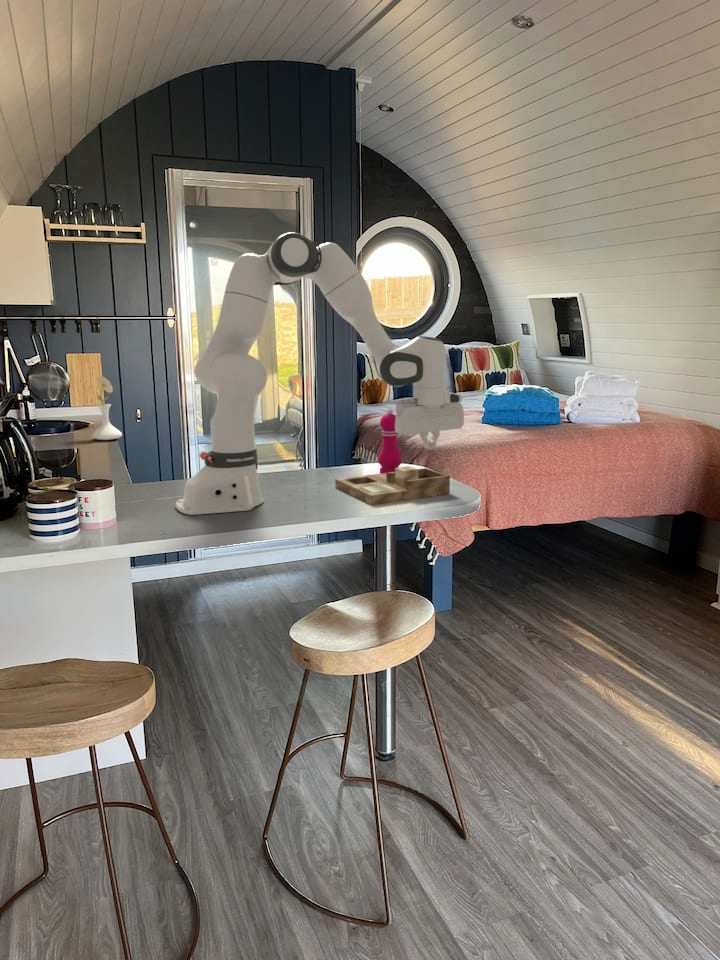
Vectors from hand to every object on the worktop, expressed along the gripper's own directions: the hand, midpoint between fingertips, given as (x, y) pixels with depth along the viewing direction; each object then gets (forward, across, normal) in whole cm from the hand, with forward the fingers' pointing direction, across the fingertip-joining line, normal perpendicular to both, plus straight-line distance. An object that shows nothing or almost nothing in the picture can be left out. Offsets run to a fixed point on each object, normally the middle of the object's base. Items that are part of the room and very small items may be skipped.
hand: (429, 447), depth 204 cm
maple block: (+9, -8, 0) cm, 12 cm away
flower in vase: (+11, -66, +136) cm, 152 cm away
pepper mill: (+12, 0, +24) cm, 27 cm away
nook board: (+12, -10, +5) cm, 16 cm away
